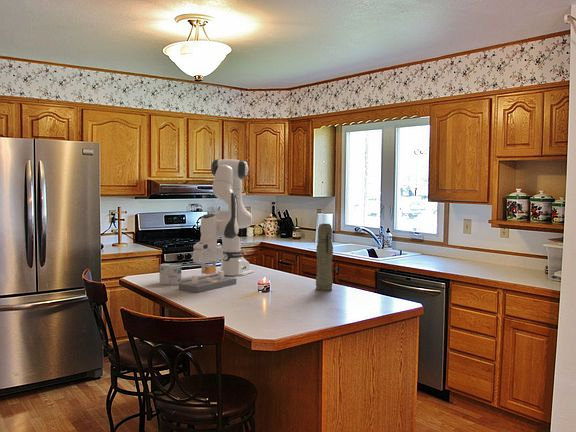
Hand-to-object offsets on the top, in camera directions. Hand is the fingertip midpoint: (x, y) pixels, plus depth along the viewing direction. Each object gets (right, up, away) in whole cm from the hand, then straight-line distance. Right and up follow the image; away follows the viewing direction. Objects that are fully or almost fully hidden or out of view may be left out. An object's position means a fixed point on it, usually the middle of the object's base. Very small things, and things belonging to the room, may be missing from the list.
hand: (208, 270), depth 283 cm
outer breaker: (-6, -7, -8) cm, 12 cm away
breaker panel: (0, -9, +1) cm, 9 cm away
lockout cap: (0, -2, 0) cm, 2 cm away
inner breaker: (+6, -6, +9) cm, 12 cm away
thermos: (+62, -10, -3) cm, 63 cm away
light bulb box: (-22, -9, +8) cm, 25 cm away
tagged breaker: (0, -9, +1) cm, 9 cm away
